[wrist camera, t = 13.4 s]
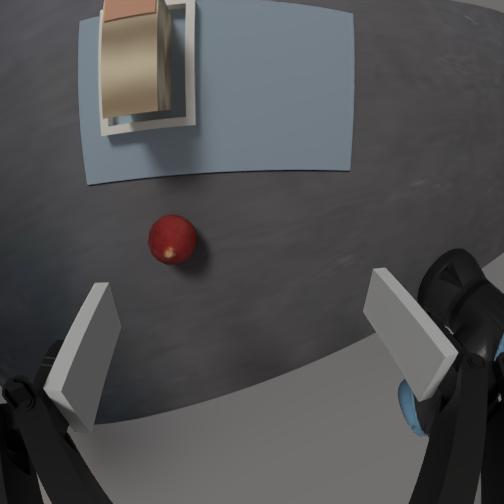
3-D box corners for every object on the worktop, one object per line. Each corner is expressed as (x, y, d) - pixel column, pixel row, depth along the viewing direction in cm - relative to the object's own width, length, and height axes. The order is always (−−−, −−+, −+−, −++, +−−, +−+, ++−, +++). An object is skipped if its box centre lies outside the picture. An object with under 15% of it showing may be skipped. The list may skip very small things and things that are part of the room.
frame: (195, 1, 25) (195, -5, 23) (196, 124, 32) (195, 125, 30) (105, 14, 23) (100, 10, 22) (106, 134, 31) (101, 136, 29)
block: (171, 109, 31) (157, 110, 22) (130, 114, 30) (101, 119, 21) (171, 16, 25) (158, -14, 16) (129, 22, 25) (103, -3, 16)
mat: (352, 14, 27) (353, 13, 27) (348, 170, 38) (349, 170, 37) (80, 21, 23) (79, 21, 23) (88, 184, 33) (87, 185, 33)
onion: (184, 254, 40) (180, 288, 33) (146, 235, 38) (134, 266, 31) (205, 219, 38) (205, 247, 31) (165, 198, 36) (155, 222, 29)
